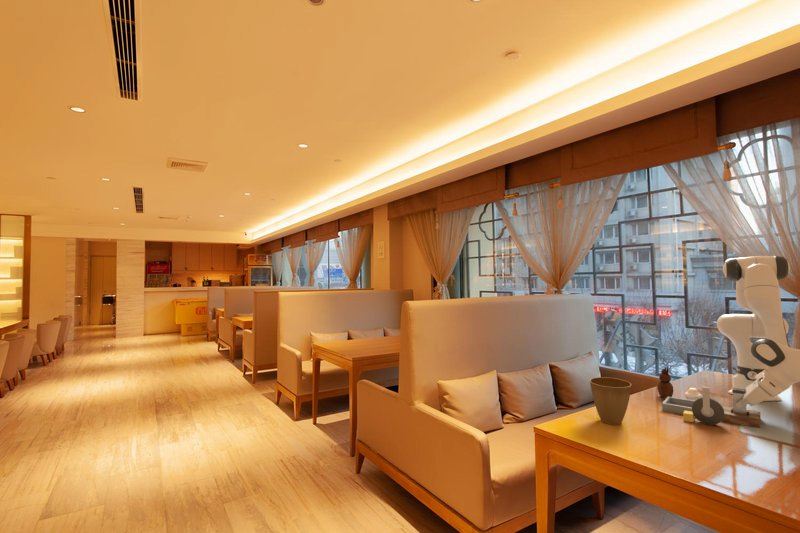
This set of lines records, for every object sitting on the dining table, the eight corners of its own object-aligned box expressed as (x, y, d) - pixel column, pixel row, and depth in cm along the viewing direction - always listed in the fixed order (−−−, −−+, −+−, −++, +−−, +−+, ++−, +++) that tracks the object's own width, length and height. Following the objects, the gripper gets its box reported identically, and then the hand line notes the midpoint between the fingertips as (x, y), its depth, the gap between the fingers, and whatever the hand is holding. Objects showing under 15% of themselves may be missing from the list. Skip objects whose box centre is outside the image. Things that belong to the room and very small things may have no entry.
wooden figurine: (675, 399, 189) (674, 367, 189) (662, 399, 190) (661, 367, 190) (669, 395, 195) (668, 364, 196) (655, 395, 196) (655, 364, 197)
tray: (668, 403, 184) (667, 396, 184) (703, 409, 175) (703, 402, 175) (662, 410, 174) (662, 403, 174) (699, 417, 166) (699, 409, 166)
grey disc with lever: (685, 417, 165) (683, 380, 166) (725, 425, 156) (723, 386, 157) (682, 422, 160) (681, 384, 161) (723, 430, 152) (722, 389, 152)
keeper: (722, 412, 170) (722, 405, 170) (760, 419, 162) (760, 411, 162) (719, 420, 162) (719, 413, 162) (759, 427, 153) (759, 419, 153)
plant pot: (582, 418, 166) (581, 379, 166) (608, 413, 172) (607, 375, 172) (614, 431, 152) (613, 388, 153) (641, 425, 158) (640, 383, 158)
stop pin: (734, 417, 165) (733, 387, 165) (747, 419, 162) (745, 389, 162) (733, 420, 162) (732, 389, 162) (746, 422, 159) (745, 391, 159)
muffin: (699, 406, 179) (699, 390, 179) (683, 403, 184) (682, 387, 184) (703, 403, 183) (702, 387, 184) (687, 400, 188) (686, 385, 188)
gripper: (762, 371, 165) (732, 391, 172) (761, 381, 150) (728, 402, 157) (777, 384, 162) (746, 403, 169) (778, 395, 147) (743, 416, 153)
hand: (737, 403), depth 162 cm, fingers open, 7 cm apart
